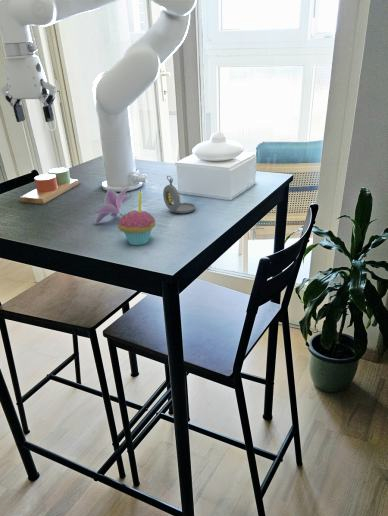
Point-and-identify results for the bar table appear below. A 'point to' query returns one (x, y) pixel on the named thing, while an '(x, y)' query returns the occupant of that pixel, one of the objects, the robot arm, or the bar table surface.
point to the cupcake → (137, 225)
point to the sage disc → (61, 175)
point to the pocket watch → (175, 200)
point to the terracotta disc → (46, 183)
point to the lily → (112, 204)
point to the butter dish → (216, 169)
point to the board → (47, 193)
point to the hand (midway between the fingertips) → (35, 121)
